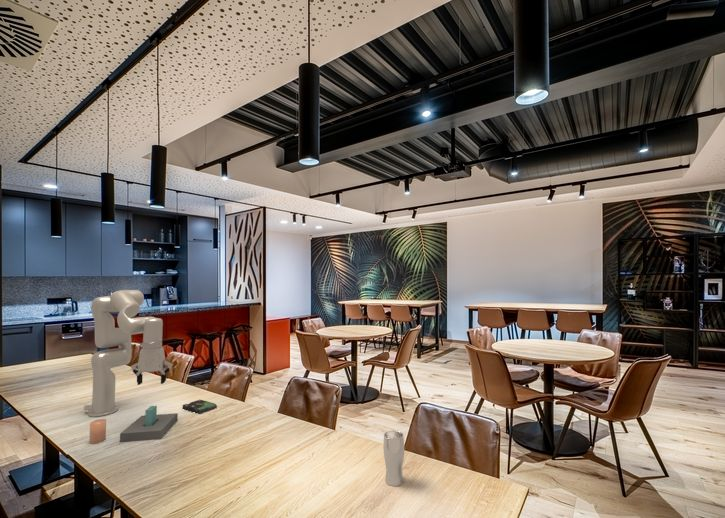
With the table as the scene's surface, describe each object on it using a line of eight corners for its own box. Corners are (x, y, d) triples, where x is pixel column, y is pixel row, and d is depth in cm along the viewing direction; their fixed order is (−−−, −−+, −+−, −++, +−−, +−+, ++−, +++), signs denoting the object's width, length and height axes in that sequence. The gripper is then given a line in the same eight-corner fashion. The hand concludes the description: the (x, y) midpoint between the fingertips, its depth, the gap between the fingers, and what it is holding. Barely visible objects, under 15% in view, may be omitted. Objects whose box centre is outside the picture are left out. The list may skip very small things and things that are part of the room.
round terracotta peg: (86, 444, 146) (87, 424, 147) (94, 438, 152) (94, 419, 152) (101, 443, 147) (101, 423, 148) (108, 437, 153) (108, 418, 153)
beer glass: (382, 475, 121) (381, 430, 121) (402, 474, 121) (401, 429, 122) (385, 487, 114) (384, 439, 115) (406, 486, 114) (406, 438, 115)
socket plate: (119, 442, 148) (120, 433, 149) (141, 423, 168) (141, 415, 168) (160, 438, 151) (161, 430, 151) (177, 420, 171) (177, 413, 171)
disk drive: (181, 410, 186) (199, 415, 178) (181, 405, 186) (199, 409, 178) (199, 404, 195) (217, 408, 187) (199, 399, 195) (217, 403, 187)
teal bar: (144, 433, 157) (145, 410, 157) (150, 428, 162) (150, 406, 163) (151, 433, 157) (151, 410, 158) (156, 427, 162) (156, 405, 163)
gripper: (127, 347, 157) (126, 387, 156) (169, 346, 159) (168, 385, 159) (135, 344, 164) (134, 382, 163) (175, 343, 167) (174, 380, 166)
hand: (151, 383), depth 161 cm, fingers open, 9 cm apart
